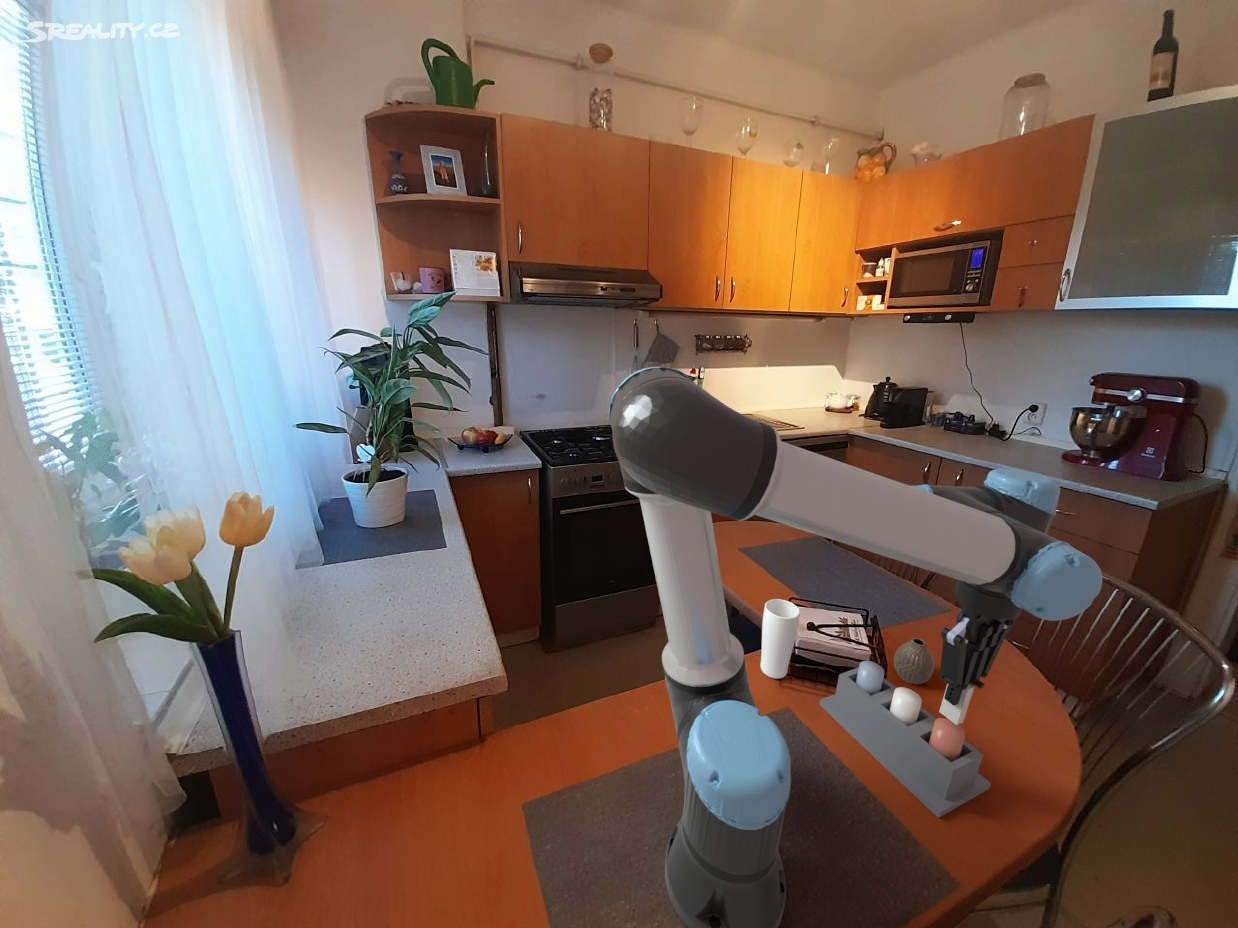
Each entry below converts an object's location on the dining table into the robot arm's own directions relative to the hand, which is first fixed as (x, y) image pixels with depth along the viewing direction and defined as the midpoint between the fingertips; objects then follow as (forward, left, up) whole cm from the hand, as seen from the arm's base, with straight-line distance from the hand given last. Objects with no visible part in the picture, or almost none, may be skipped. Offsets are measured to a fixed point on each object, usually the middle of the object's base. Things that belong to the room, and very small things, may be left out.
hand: (951, 716), depth 73 cm
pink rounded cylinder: (0, 0, -9) cm, 9 cm away
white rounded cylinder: (0, +7, -9) cm, 12 cm away
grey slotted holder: (0, +7, -12) cm, 14 cm away
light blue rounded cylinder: (0, +14, -9) cm, 17 cm away
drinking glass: (-8, +29, -13) cm, 32 cm away
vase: (+17, +17, -13) cm, 27 cm away
